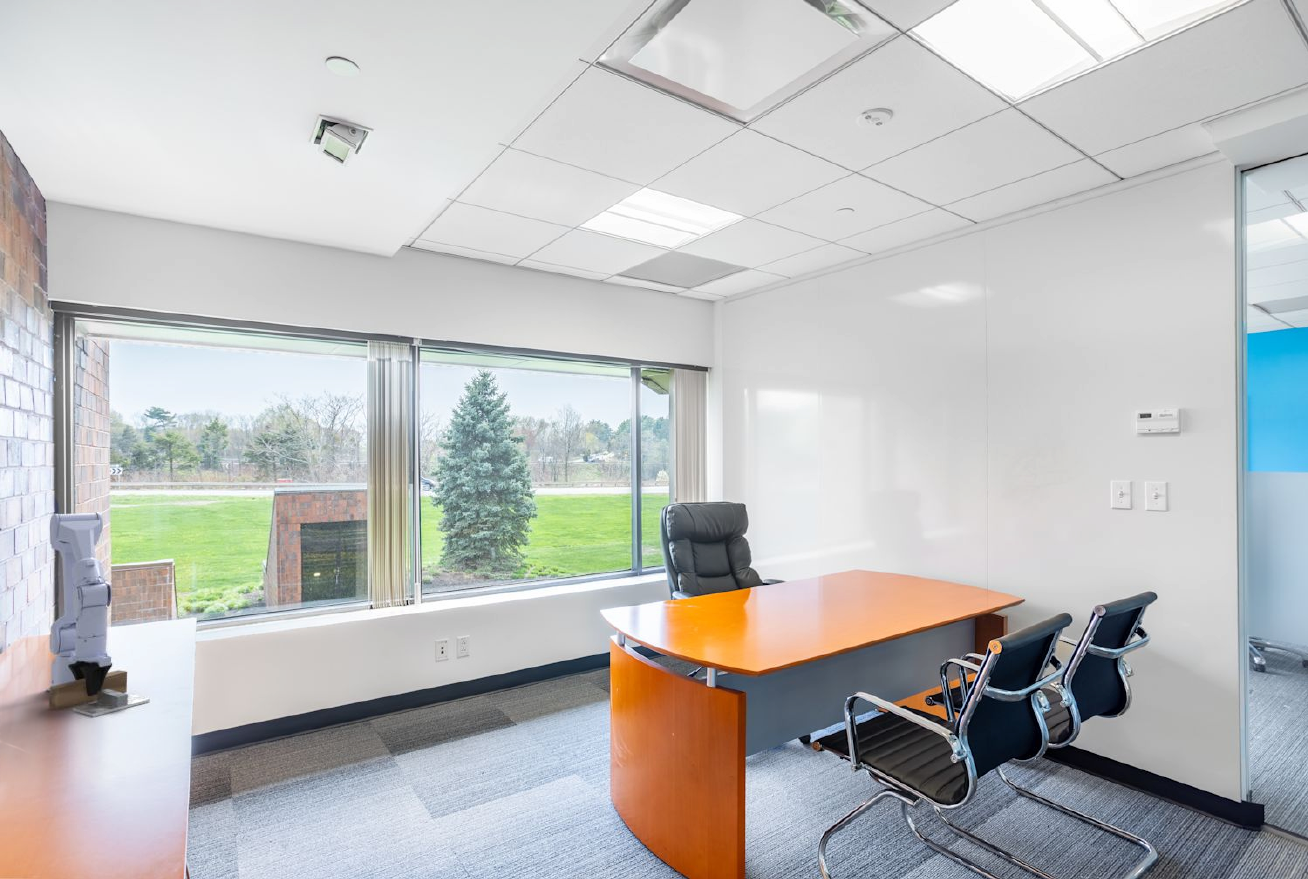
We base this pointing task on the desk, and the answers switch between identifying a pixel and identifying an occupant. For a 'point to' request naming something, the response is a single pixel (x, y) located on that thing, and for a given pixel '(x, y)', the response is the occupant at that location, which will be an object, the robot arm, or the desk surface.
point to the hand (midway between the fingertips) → (89, 693)
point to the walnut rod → (84, 690)
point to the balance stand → (110, 703)
